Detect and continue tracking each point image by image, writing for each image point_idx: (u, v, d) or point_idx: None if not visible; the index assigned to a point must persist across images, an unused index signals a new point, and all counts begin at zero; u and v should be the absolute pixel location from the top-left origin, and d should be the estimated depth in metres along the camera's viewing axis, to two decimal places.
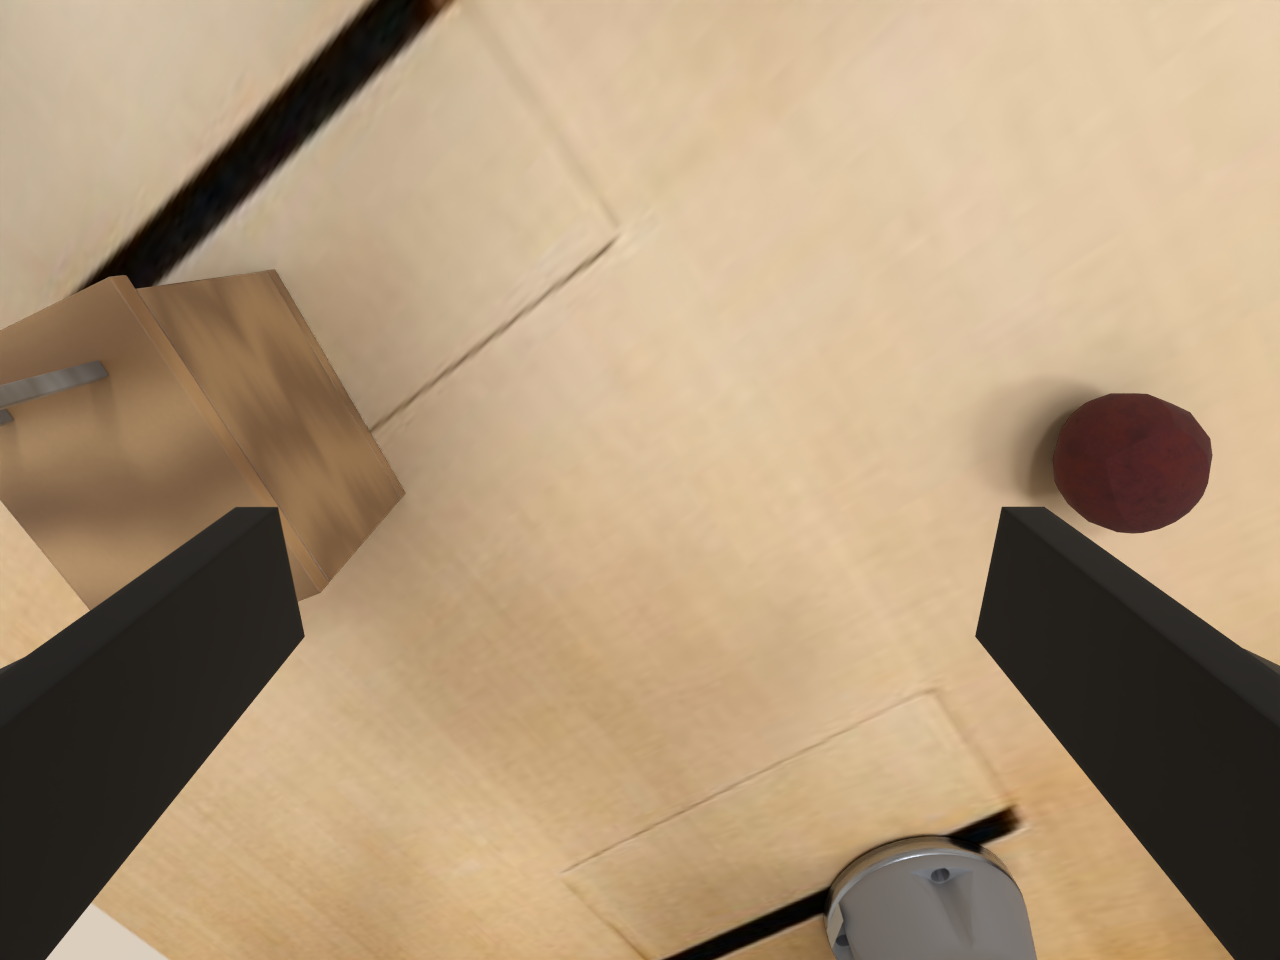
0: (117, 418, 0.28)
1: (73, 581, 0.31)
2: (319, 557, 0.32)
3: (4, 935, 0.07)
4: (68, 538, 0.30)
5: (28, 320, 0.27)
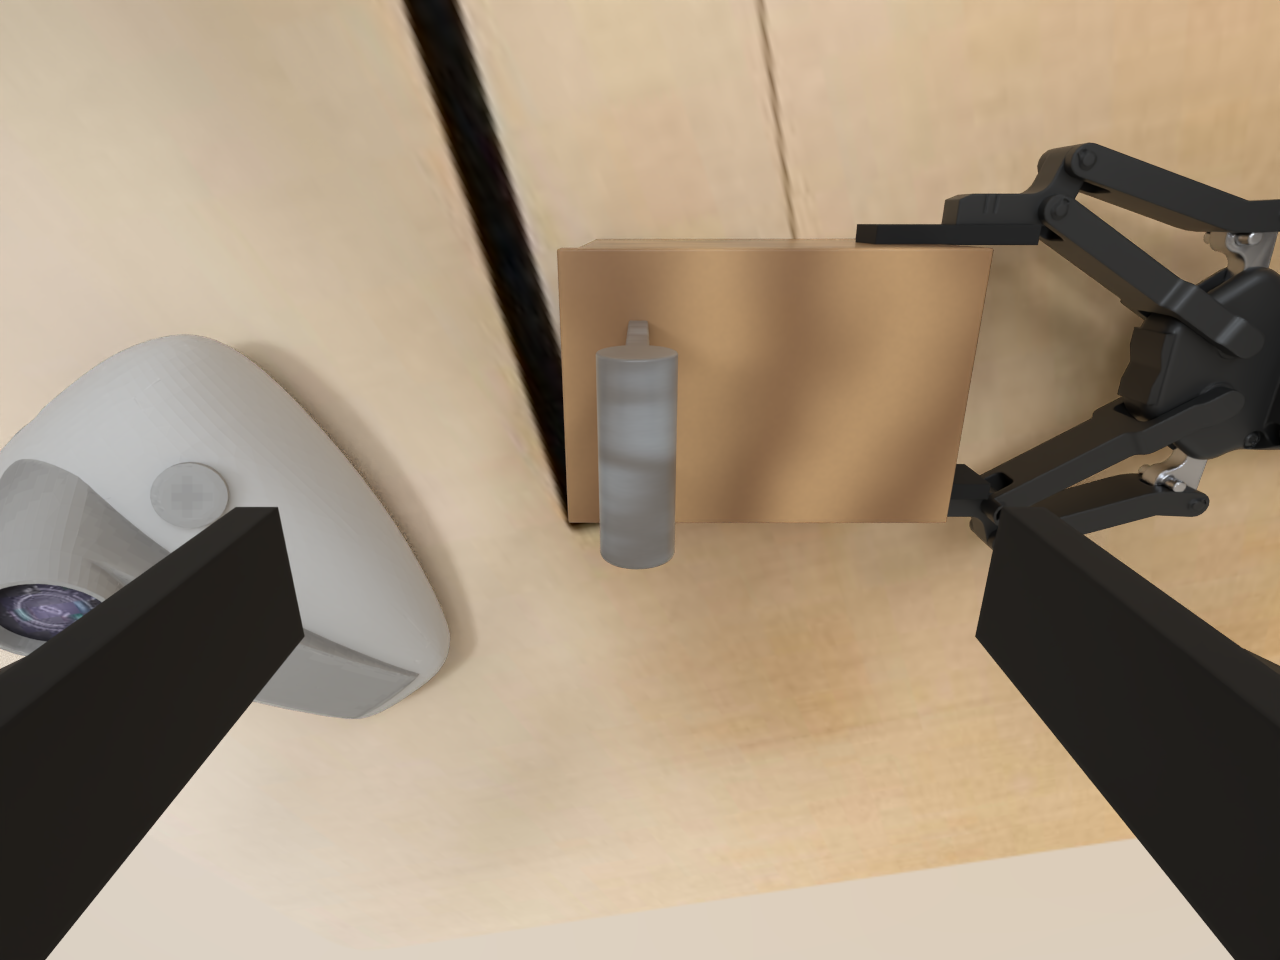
0: (691, 345, 0.25)
1: (825, 515, 0.27)
2: None
3: (4, 935, 0.07)
4: (781, 487, 0.27)
5: (565, 364, 0.25)
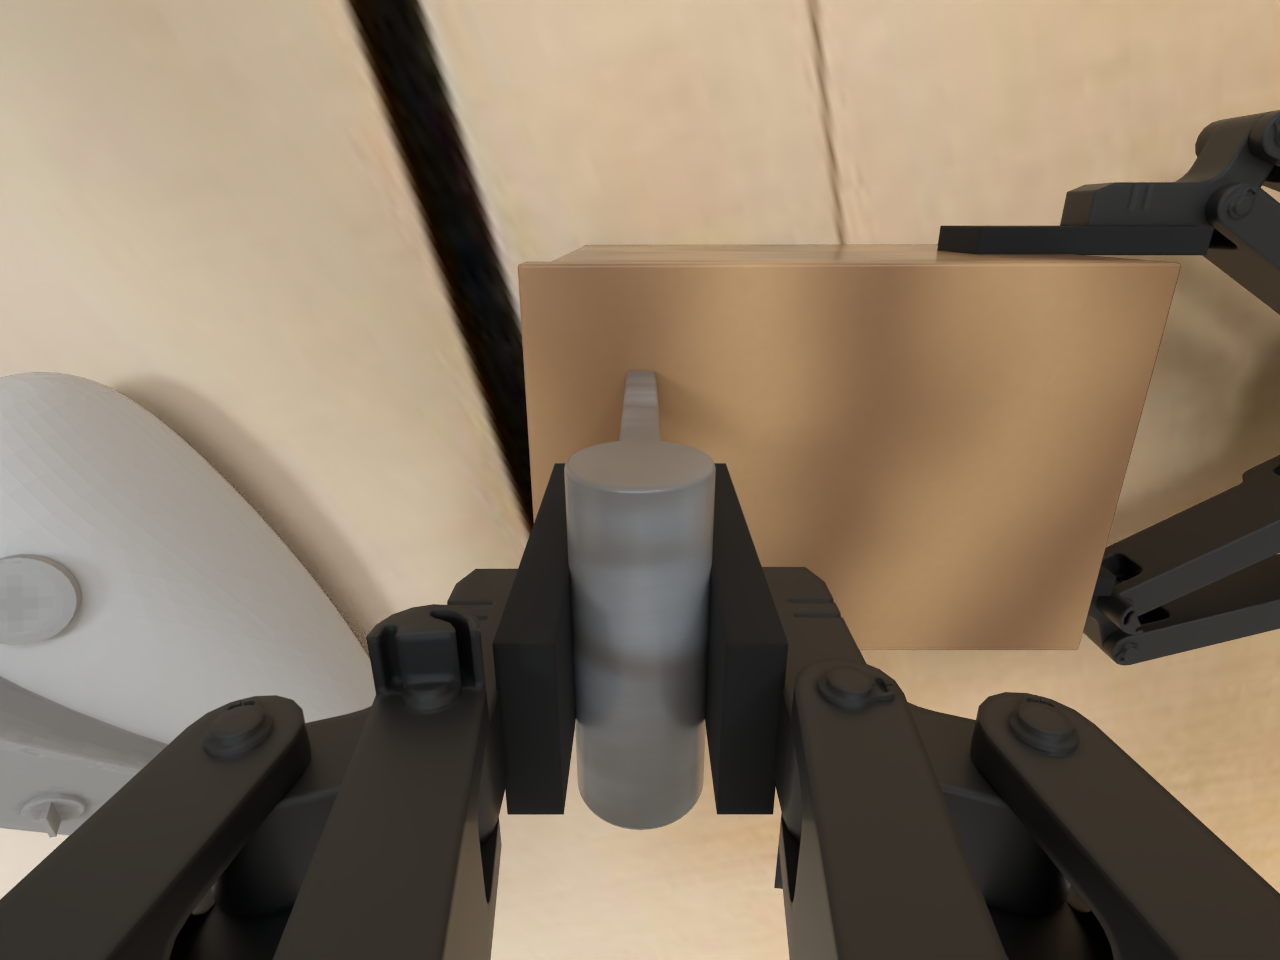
0: (720, 406, 0.17)
1: (907, 640, 0.19)
2: (1092, 260, 0.17)
3: (563, 764, 0.09)
4: (846, 602, 0.19)
5: (533, 433, 0.17)
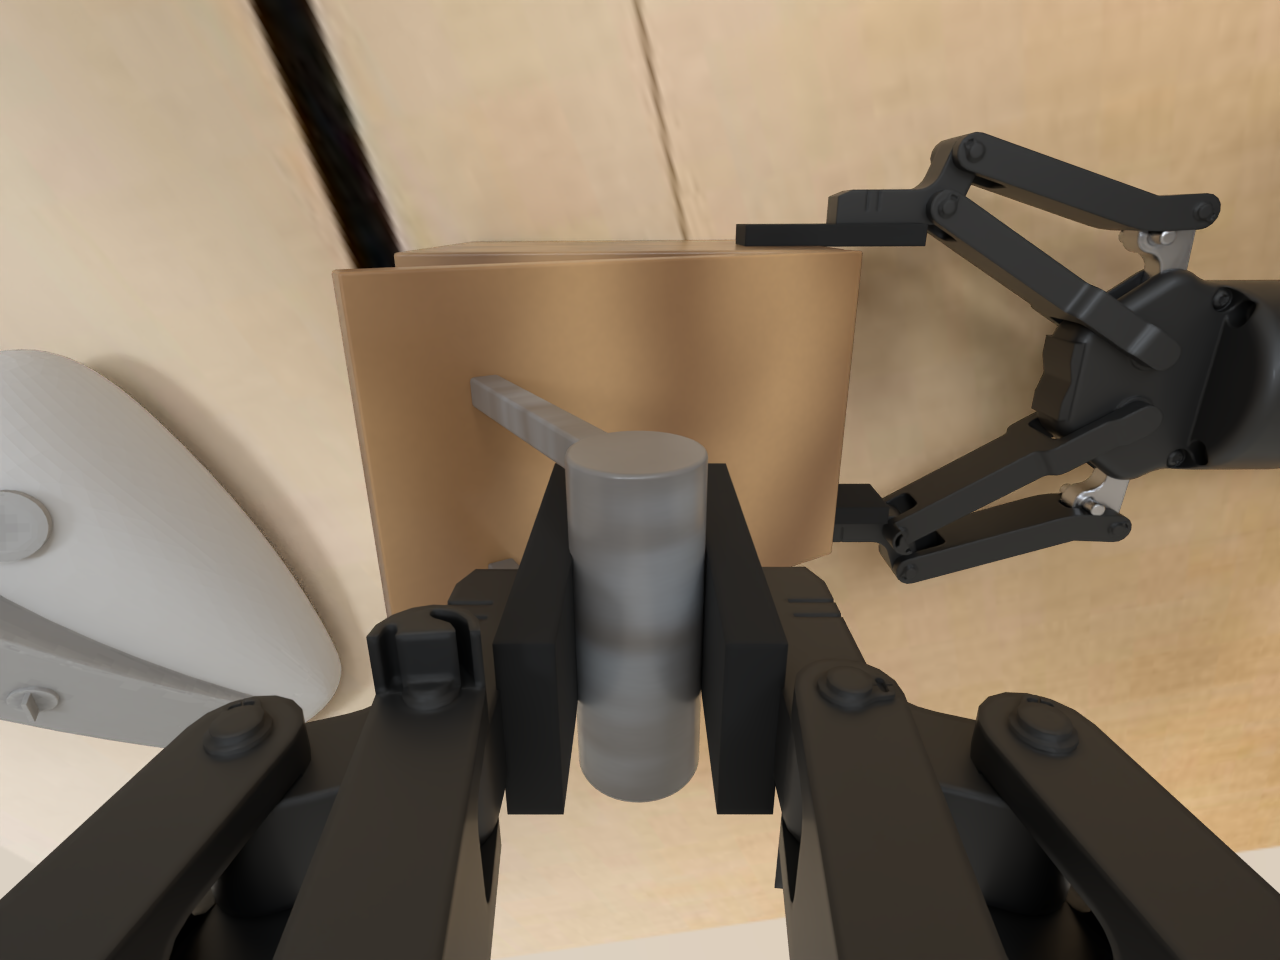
0: (560, 401, 0.17)
1: None
2: (806, 249, 0.22)
3: (562, 764, 0.09)
4: None
5: (373, 459, 0.15)
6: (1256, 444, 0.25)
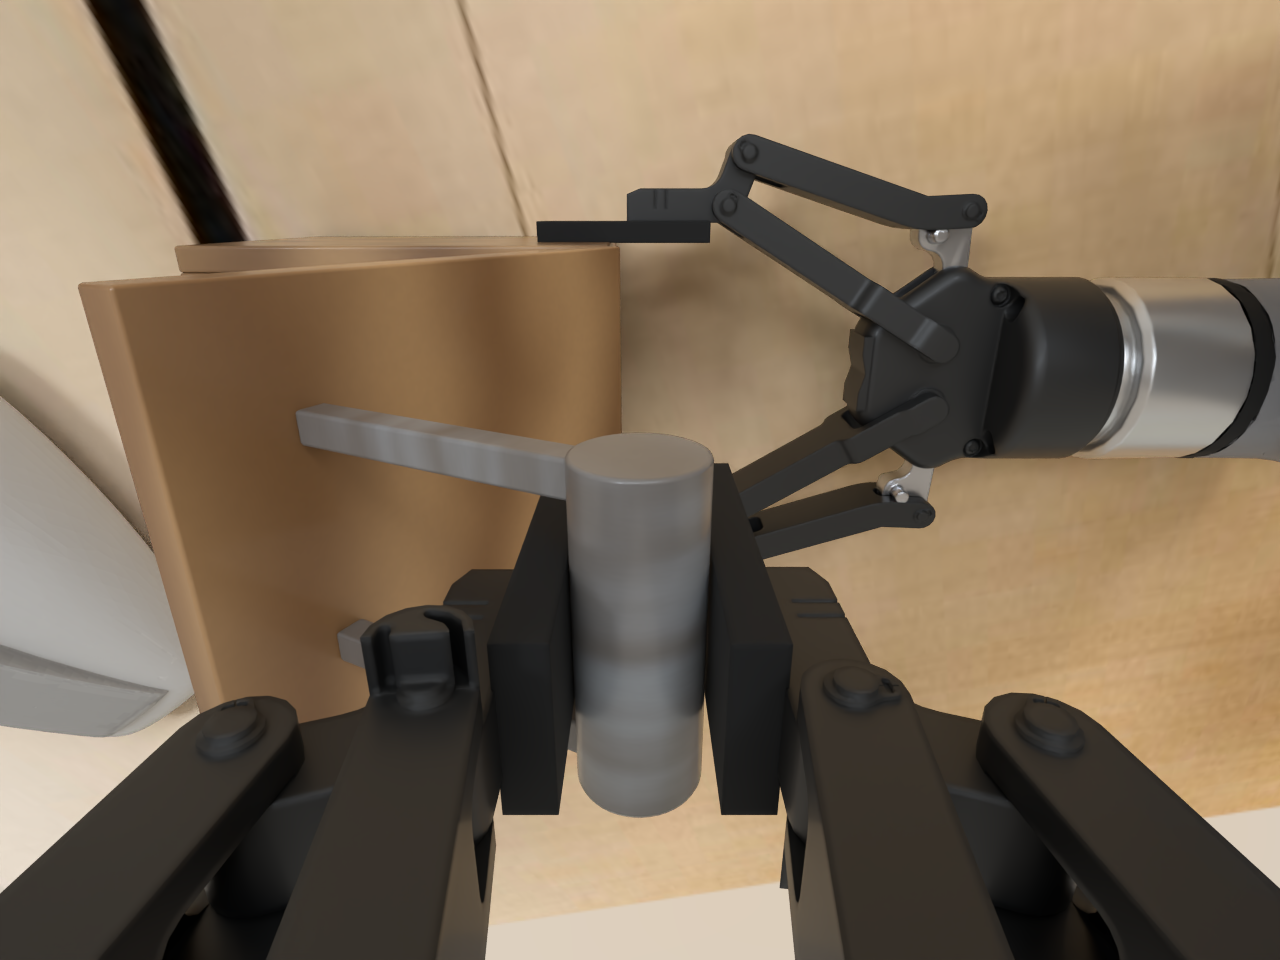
0: None
1: None
2: None
3: (557, 765, 0.09)
4: None
5: (186, 536, 0.11)
6: (1029, 433, 0.26)
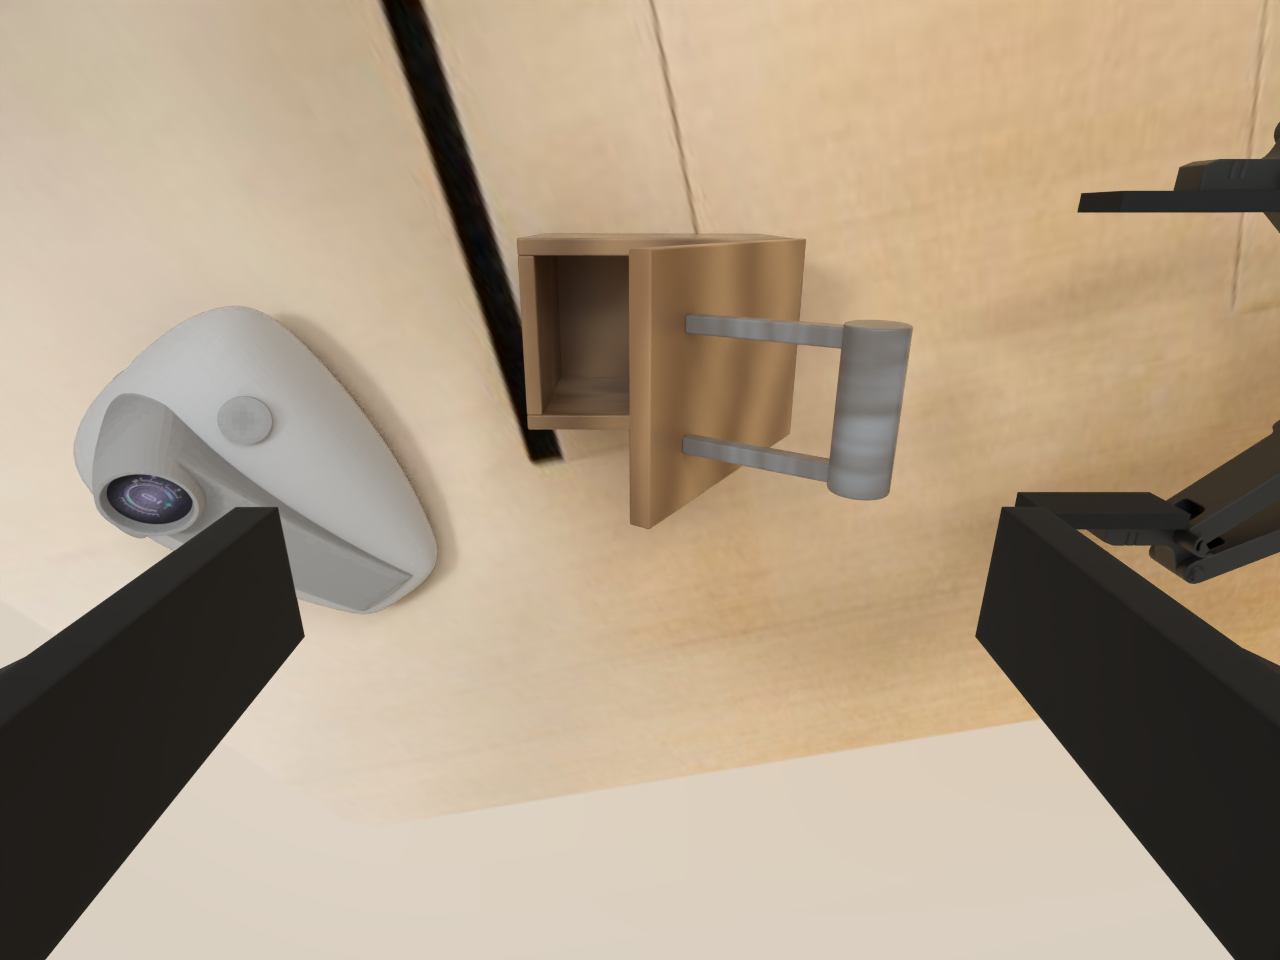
0: None
1: None
2: None
3: (4, 935, 0.07)
4: (742, 437, 0.32)
5: (652, 367, 0.24)
6: None
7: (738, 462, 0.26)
